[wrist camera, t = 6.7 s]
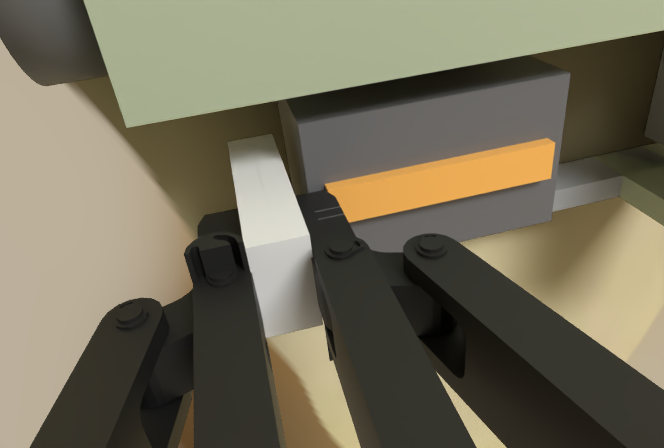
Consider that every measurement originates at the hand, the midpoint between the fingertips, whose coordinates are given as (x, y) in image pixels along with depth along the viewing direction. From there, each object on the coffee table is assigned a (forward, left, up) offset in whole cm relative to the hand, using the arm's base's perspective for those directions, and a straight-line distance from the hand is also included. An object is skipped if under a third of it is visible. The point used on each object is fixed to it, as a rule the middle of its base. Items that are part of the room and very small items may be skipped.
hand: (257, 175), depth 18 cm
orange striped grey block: (+5, 0, -2) cm, 6 cm away
